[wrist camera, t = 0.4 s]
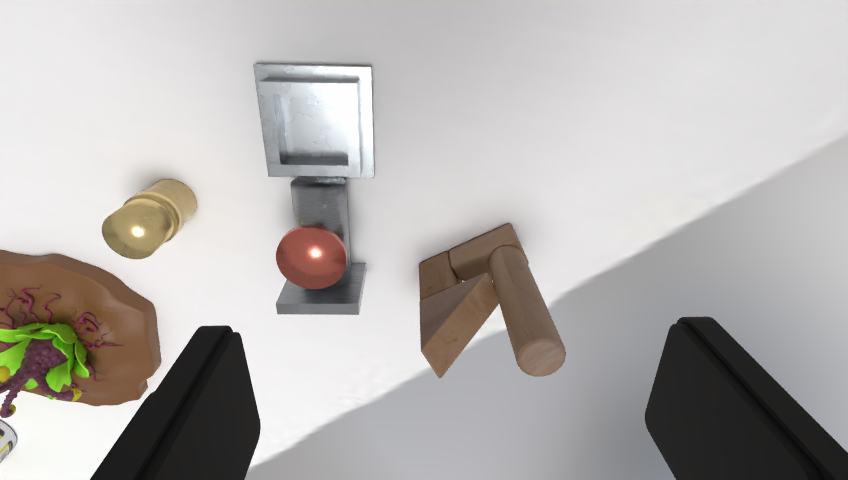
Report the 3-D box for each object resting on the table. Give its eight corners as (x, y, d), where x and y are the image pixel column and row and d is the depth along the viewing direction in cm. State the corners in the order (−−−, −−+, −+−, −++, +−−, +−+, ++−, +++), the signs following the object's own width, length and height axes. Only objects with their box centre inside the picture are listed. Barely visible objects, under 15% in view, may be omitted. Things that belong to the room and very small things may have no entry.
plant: (175, 284, 50) (116, 352, 40) (155, 405, 59) (102, 487, 49) (-27, 227, 47) (-146, 287, 37) (-19, 365, 55) (-114, 444, 45)
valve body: (256, 63, 40) (222, 76, 33) (371, 66, 40) (362, 79, 33) (284, 272, 49) (262, 317, 42) (377, 272, 50) (371, 318, 43)
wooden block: (417, 262, 49) (420, 385, 33) (509, 221, 47) (559, 330, 31) (432, 288, 51) (442, 417, 35) (522, 248, 49) (576, 366, 33)
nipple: (143, 176, 44) (91, 209, 37) (193, 177, 44) (151, 210, 37) (155, 221, 46) (108, 260, 39) (203, 222, 47) (165, 261, 40)
